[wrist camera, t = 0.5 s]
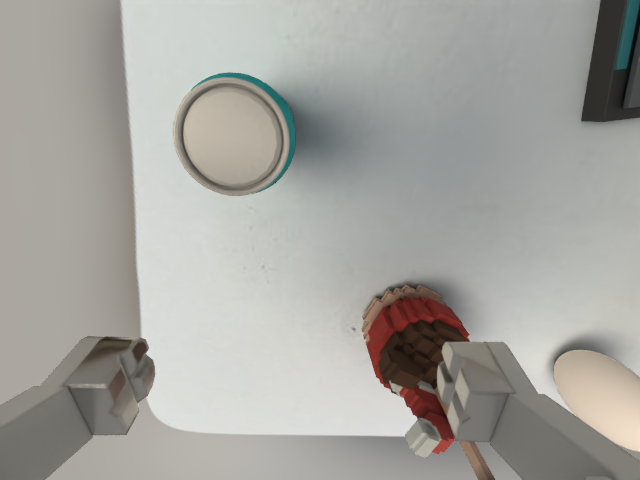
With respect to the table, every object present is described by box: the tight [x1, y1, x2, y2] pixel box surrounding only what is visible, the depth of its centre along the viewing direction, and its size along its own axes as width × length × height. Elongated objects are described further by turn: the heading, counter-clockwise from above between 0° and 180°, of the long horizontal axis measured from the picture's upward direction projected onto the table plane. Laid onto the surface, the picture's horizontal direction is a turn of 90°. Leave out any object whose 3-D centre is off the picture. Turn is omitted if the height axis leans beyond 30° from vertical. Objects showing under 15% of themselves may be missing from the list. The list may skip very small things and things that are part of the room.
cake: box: [361, 285, 495, 480], centre depth 29 cm, size 11×9×18 cm
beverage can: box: [173, 73, 296, 196], centre depth 22 cm, size 6×6×15 cm
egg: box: [554, 350, 640, 452], centre depth 36 cm, size 7×7×12 cm
